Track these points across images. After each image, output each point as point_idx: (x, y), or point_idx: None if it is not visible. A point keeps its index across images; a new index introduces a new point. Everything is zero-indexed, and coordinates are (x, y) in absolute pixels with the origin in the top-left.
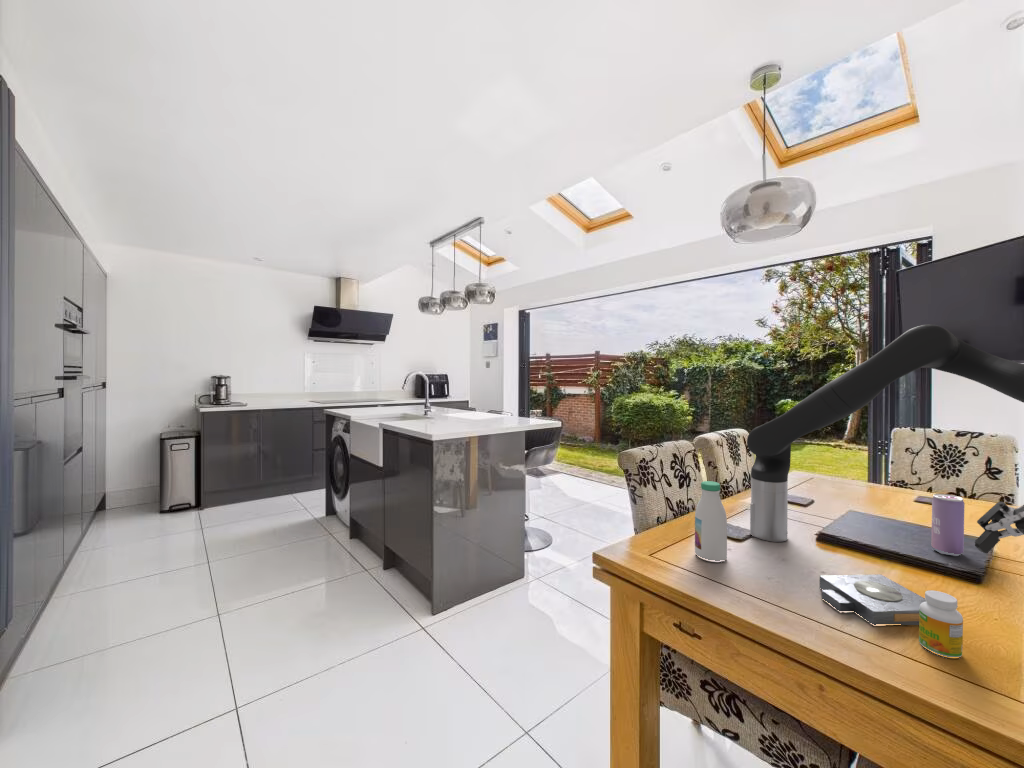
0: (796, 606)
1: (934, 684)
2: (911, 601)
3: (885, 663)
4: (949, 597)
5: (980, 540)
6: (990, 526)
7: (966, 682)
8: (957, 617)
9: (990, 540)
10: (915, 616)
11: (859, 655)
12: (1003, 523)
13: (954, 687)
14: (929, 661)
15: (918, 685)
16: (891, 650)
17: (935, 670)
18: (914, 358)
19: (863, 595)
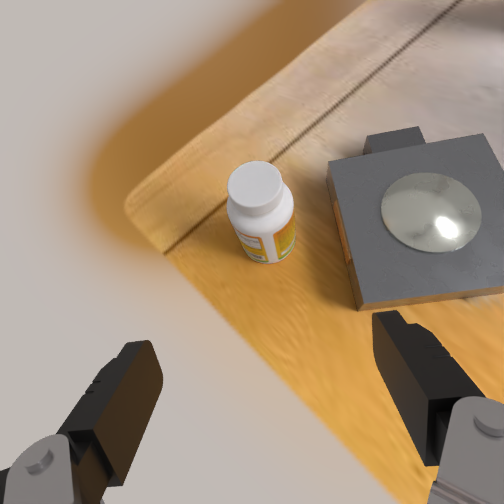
0: (373, 100)
1: (192, 180)
2: (391, 255)
3: (231, 149)
4: (248, 195)
5: (400, 329)
6: (490, 426)
7: (195, 220)
8: (229, 210)
9: (401, 383)
10: (343, 241)
11: (246, 129)
12: (436, 491)
13: (187, 199)
14: None
15: (191, 162)
16: None
17: (219, 199)
18: None
19: (397, 175)
